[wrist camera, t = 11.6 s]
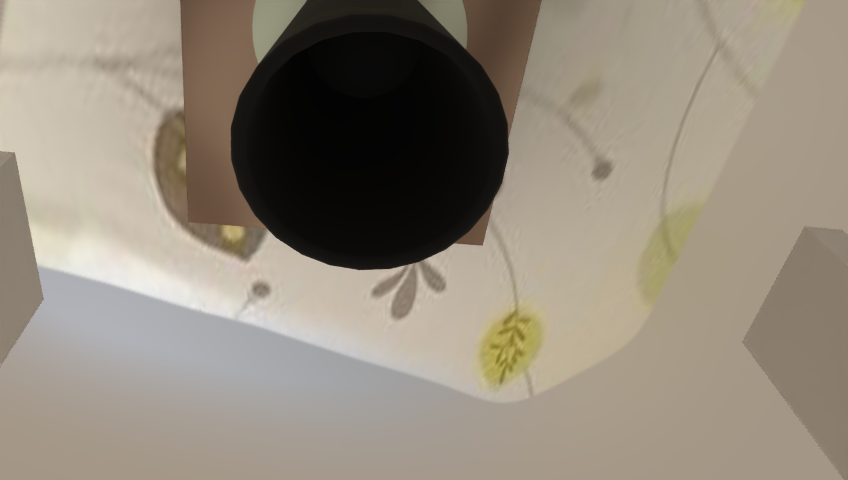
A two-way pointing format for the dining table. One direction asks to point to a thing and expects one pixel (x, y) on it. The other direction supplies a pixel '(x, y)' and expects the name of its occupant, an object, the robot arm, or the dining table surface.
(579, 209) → the dining table surface
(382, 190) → the cup
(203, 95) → the stub board
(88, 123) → the dining table surface
